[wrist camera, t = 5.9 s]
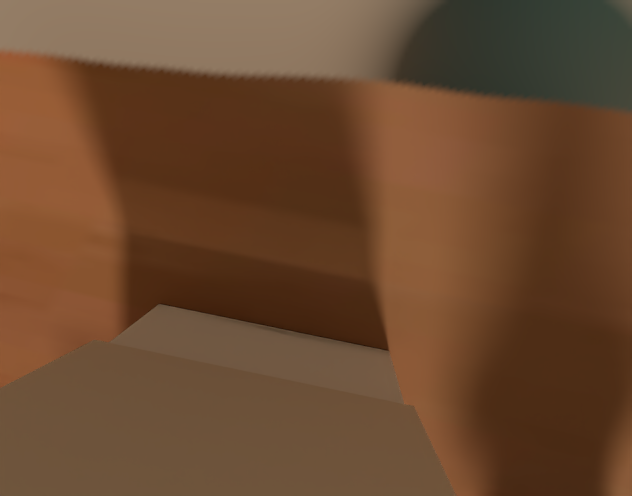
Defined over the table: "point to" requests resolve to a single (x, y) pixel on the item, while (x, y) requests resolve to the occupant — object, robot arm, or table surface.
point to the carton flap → (202, 433)
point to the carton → (265, 351)
